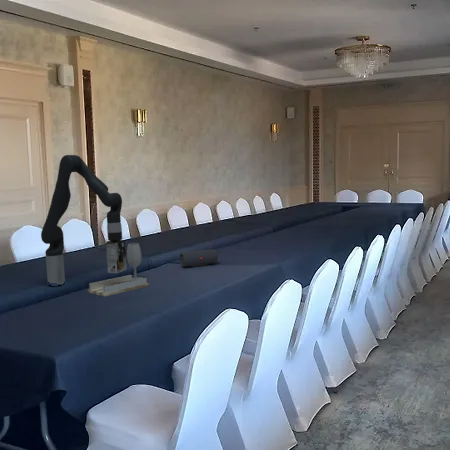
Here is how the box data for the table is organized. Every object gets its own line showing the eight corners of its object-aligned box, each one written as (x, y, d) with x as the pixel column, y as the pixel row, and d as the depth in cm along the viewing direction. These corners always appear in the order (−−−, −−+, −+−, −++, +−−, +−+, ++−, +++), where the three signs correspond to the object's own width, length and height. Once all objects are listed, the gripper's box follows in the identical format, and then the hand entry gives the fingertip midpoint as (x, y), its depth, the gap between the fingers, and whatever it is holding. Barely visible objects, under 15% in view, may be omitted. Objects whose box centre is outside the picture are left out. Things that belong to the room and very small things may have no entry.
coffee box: (117, 269, 300) (115, 239, 298) (127, 269, 298) (125, 240, 296) (107, 272, 292) (105, 242, 290) (117, 273, 290) (115, 242, 288)
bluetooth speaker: (184, 269, 341) (183, 253, 340) (179, 266, 350) (178, 251, 349) (218, 265, 350) (217, 249, 349) (212, 262, 359) (212, 247, 358)
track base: (87, 292, 292) (87, 283, 292) (131, 282, 312) (131, 274, 311) (104, 296, 281) (103, 288, 280) (148, 286, 300) (148, 277, 300)
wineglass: (143, 281, 312) (141, 244, 310) (127, 282, 311) (125, 245, 308) (143, 278, 321) (141, 242, 318) (128, 279, 319) (125, 243, 317)
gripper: (101, 231, 295) (103, 261, 297) (116, 232, 285) (118, 264, 287) (113, 229, 300) (115, 258, 302) (128, 230, 290) (130, 261, 292)
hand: (116, 261), depth 294 cm, fingers closed on coffee box, 8 cm apart
